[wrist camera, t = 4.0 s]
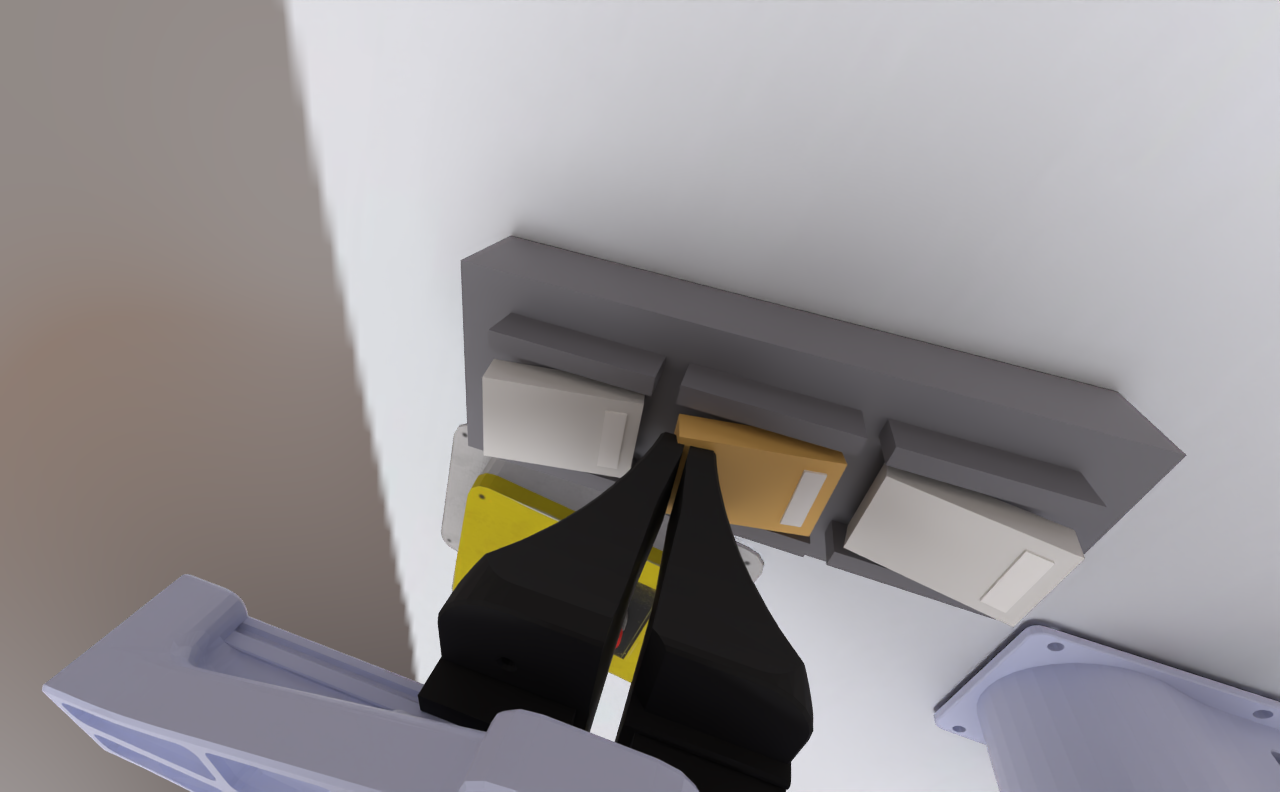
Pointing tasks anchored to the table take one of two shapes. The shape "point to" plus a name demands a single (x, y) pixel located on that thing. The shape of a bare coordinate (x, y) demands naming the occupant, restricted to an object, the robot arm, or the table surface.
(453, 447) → the emergency button
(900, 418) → the switch strip
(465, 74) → the table surface
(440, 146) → the table surface
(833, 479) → the rocker amber
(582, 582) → the robot arm
